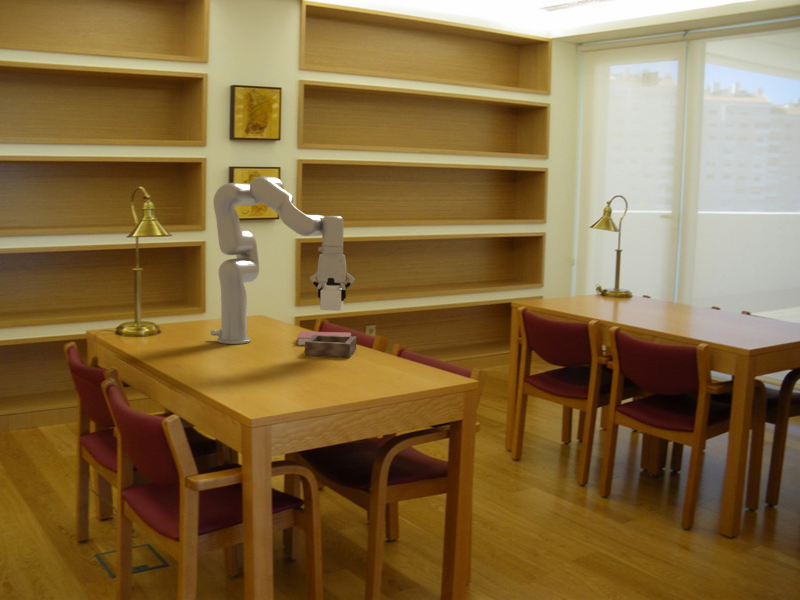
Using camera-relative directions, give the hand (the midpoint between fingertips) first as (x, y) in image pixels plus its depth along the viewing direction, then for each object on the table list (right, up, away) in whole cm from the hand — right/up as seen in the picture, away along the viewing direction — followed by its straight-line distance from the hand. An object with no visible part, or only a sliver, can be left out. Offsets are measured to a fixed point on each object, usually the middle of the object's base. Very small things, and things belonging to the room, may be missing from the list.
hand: (331, 299), depth 299 cm
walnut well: (-1, -19, +2) cm, 19 cm away
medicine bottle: (0, -3, 0) cm, 3 cm away
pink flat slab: (-5, -17, +23) cm, 28 cm away
